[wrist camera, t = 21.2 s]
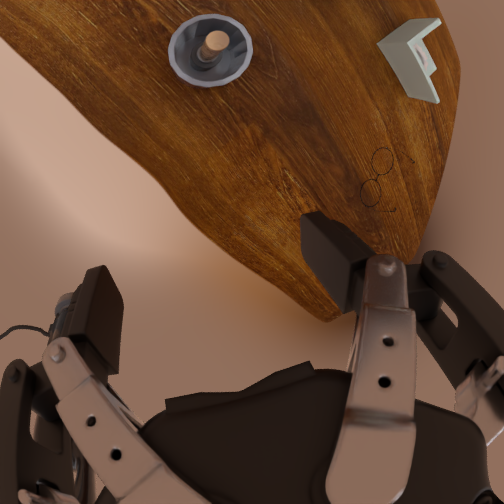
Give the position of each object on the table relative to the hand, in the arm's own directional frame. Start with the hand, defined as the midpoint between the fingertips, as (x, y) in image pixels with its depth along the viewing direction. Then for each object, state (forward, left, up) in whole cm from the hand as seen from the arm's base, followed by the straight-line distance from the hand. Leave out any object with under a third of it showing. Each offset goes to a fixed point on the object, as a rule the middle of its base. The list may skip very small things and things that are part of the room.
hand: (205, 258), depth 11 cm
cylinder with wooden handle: (+4, +10, -29) cm, 31 cm away
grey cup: (+4, +10, -30) cm, 32 cm away
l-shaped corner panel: (+41, +12, -30) cm, 52 cm away
